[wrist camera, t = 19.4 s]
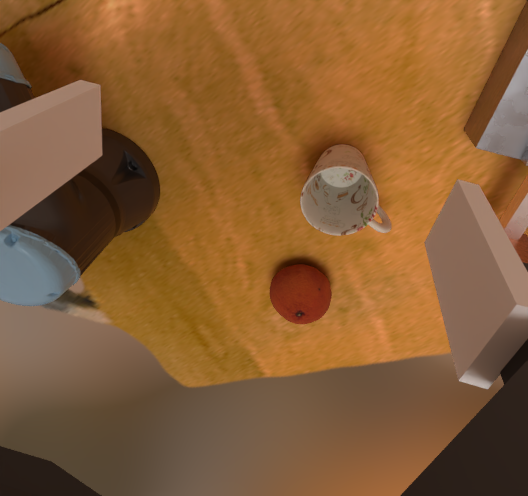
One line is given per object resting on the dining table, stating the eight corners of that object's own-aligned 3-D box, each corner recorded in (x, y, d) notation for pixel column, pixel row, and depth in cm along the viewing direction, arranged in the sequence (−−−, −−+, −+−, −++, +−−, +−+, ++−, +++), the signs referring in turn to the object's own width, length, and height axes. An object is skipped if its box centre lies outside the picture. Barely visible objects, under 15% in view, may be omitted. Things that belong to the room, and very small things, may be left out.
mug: (338, 120, 50) (334, 150, 42) (414, 183, 53) (425, 222, 45) (295, 170, 55) (285, 206, 47) (368, 225, 57) (369, 268, 49)
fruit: (343, 288, 64) (342, 324, 57) (294, 307, 68) (288, 343, 61) (313, 245, 61) (308, 278, 54) (264, 267, 65) (253, 301, 58)
